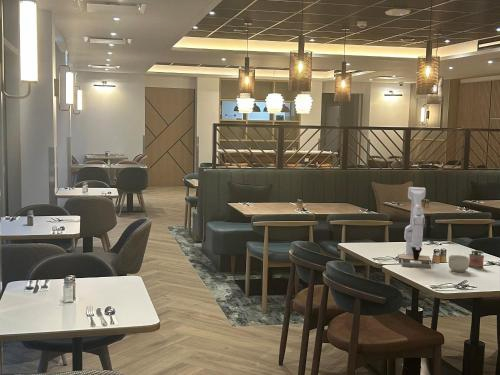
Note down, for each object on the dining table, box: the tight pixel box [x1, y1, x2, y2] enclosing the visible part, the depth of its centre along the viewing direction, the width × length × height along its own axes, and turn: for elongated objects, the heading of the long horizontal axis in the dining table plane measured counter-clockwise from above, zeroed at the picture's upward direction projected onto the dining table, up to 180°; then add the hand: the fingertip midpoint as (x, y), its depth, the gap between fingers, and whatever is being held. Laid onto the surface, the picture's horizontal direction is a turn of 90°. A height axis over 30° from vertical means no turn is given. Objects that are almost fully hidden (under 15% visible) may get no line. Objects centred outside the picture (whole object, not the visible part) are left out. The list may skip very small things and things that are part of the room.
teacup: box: [448, 254, 469, 273], centre depth 337 cm, size 14×11×8 cm
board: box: [397, 253, 432, 264], centre depth 356 cm, size 12×18×2 cm
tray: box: [400, 259, 432, 269], centre depth 345 cm, size 10×16×2 cm, turn 80°
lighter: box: [468, 249, 485, 270], centre depth 345 cm, size 8×3×10 cm, turn 62°
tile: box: [410, 260, 422, 264], centre depth 344 cm, size 5×6×2 cm
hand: (415, 259), depth 346 cm, fingers closed
